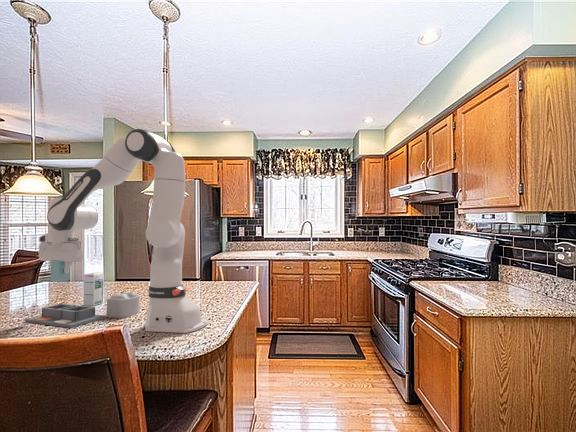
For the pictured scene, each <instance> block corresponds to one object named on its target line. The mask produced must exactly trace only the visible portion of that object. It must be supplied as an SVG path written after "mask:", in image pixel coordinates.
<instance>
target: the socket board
mask: <svg viewBox="0 0 576 432" xmlns="http://www.w3.org/2000/svg"><path fill="white" fill-rule="evenodd" d="M104 319H106V315H101V314H96V306H85V305H78V304H67V303H59V304H55V305H50V306H44V307H42V308H41V315H37V316H33V317H28V318H25V319H24V321H25V323H33V324H40V325H47V326H55V327H62V328H68V329H69V328H70V329H74V328H77V327H80V326H83V325H86V324H90V323H95V322H96V321H97V322H98V321H101V320H104Z"/></svg>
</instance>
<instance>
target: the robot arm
mask: <svg viewBox="0 0 576 432" xmlns="http://www.w3.org/2000/svg"><path fill="white" fill-rule="evenodd" d="M141 162H145V163H147V164H150V165H152V166H153V168H154V177H153V178H154V180H153V192H152V193H153V194H152V195H153V196H152V204H151V209H150V211H149V212H150V213H149V216H148V223H147V227H146V230H145V238H146V240H147V242H148V243H149V244H150V245H152V247H154V248H153V253H152V258H151V263H150V269H149V270H150V271H149V272H150V273H149V276H150V277H149V279H150V280H149V281H150V282H149V286H148V292H147V293H148V297H149V298H148V299H149V302H148V309H147V315H146V319H145V322H144V328H145V332H156V333H157V332H158V333H173V334H175V333H177V334H178V333H179V334H180V333H181V334H186V333H192V332H195V331H199V330H200V329H202V328H205V327H206V326H207V325H208V320H207V319H202V312H201V308H200V307H199V305H197V304H196V303H195V302H194V301H193V300H192V299H191V298H189V297H188V296H187V294H186V292H188V291H189V287H184V285H183V259H184V250H185V242H186V241H185V240H186V229H185V226H184V225H183V223H182V216H183V215H182V214H183V210H184V205H185V196H186V195H185V194H186V166H185V159H184V157H183V156H182V155H181V154H180V153H178V152H176V149H175V147H174V145H172V143H170V142H169V141H168V140H165V139H164V138H163V137H161V136H159V135H158V134H156V133H154V132H150V131H149V130H147V129H143V128H135V129H133V130H131V131H130V132H128V133H127V135H126V136H121V137H119V138H118V139H117V140H116V141H115V142H114V143H113V144H112V145H111V146H110V148H109V149H108V150H107V151H106V152H105V154H104V155H103V156H102V158H101V159H100V160H99V161H98V163H97V164H95V165H94V166H93V167H92V168H90V169H88V170H87V171H85V173H83V174H82V175H81V176H80V177H79V178H78V179H77V181H75V183H74V184H73V185H72V186H71V188H70V189H69V190H68V191H67V192H66V193H65V194H64V195H63V196H57V197H54V198H52V199H51V201H50V203H49V209H48V210H47V211H48V212H47V216H46V219H47V222H48V224H49V226H48V230H47V233H45V234H43V235H41V236H39V237H38V242H39V244H38V259H39V260H40V261H43V262H45V261H46V262H49V265H50V267H51V261H61V262H64V264H65V267H64V269H63V273H69V268H70V269H71V267H72V265H73V263H79V262H83V260H84V249H83V244H82V241H81V240H80V238H78V237H75V235H76V231H77V230H88V229H93V228H94V227H95V226H96V225H97V223H98V221H99V215H98V211H97V209H96V208H95V207H93V206H90V205H86V204H84V202H85V201H86V200H87V199H88V198H89V196H90V195H92V193H94V192H96V191H97V190H99V189H103V188H108V187H113V186H115V187H116V186H118V185H122V184H123V182H125V181H126V179H128V178H129V176H130V175H131V173H132V172H133V171H134V169H135V167H136V166H137V165H138V164H139V163H141Z"/></svg>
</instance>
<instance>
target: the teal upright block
mask: <svg viewBox="0 0 576 432" xmlns="http://www.w3.org/2000/svg"><path fill="white" fill-rule="evenodd" d="M64 267H65V264H64V262H61V261H51V266H50V282H54V283H61V282H67V281H69V282H70V281H71V276H70V275H71V267H70V268H69V273H63V269H64Z"/></svg>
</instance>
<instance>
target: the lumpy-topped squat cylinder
mask: <svg viewBox="0 0 576 432" xmlns="http://www.w3.org/2000/svg"><path fill="white" fill-rule="evenodd" d="M140 299H141V297H140V294H139V293H137V292H136V291H125V292H123V293H120V292H118V291H117V292H115V293H114V294H113V295H111V296H110V297H107V298H106V317H107V318H116V319H117V318H118V319H122V318H124V319H125V318H129V317H132V316H135V315H139V313H140V310H141V309H140V308H141V307H140V305H141V303H140V301H141V300H140Z"/></svg>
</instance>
